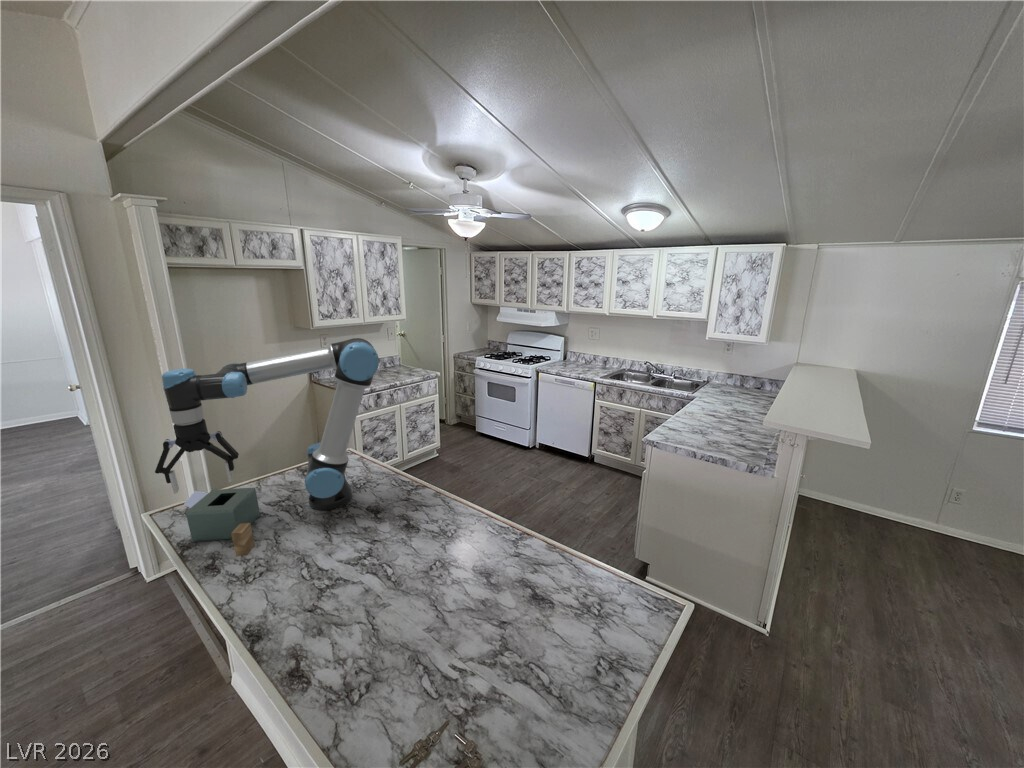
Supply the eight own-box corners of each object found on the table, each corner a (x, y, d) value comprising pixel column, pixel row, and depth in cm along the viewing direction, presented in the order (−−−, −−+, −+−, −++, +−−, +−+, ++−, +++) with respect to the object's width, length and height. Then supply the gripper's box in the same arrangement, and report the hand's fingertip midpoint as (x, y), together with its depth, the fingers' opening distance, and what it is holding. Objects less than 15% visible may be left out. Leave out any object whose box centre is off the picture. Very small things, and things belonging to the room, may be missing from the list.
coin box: (260, 515, 144) (255, 487, 141) (238, 539, 130) (232, 509, 127) (218, 517, 142) (212, 489, 139) (192, 542, 129) (185, 512, 126)
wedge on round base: (185, 513, 145) (206, 522, 140) (181, 496, 144) (202, 504, 138) (212, 501, 153) (232, 509, 148) (208, 485, 151) (229, 492, 146)
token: (254, 544, 128) (250, 522, 126) (246, 555, 123) (241, 532, 121) (244, 545, 127) (240, 523, 125) (235, 556, 122) (231, 533, 120)
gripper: (240, 410, 127) (252, 471, 133) (137, 425, 116) (155, 490, 121) (238, 417, 121) (250, 480, 127) (129, 433, 109) (148, 502, 115)
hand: (204, 485), depth 124 cm, fingers open, 13 cm apart
